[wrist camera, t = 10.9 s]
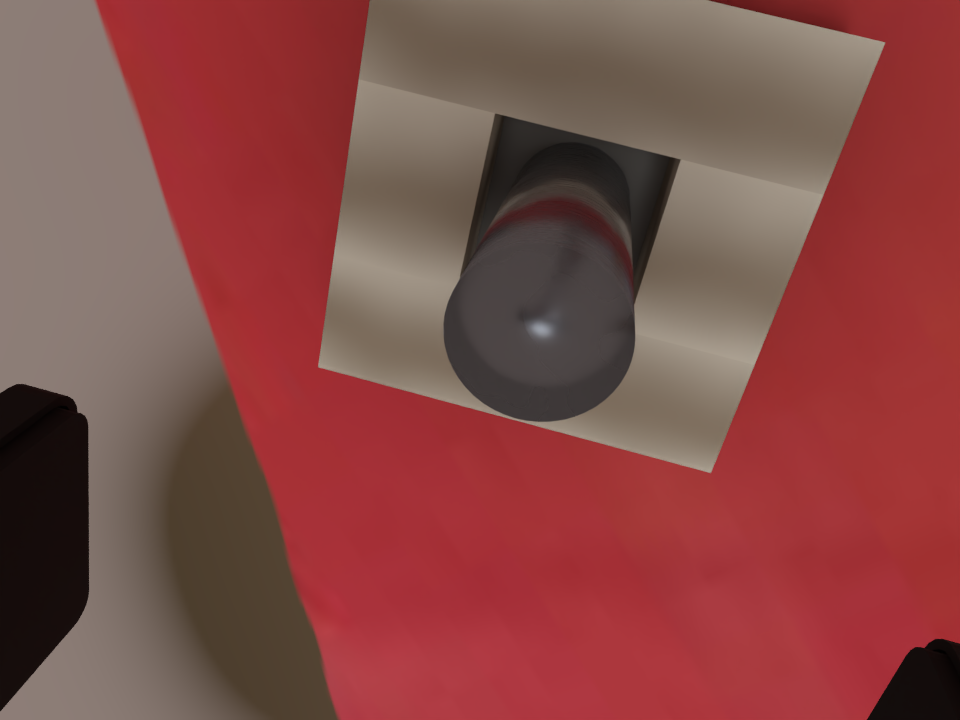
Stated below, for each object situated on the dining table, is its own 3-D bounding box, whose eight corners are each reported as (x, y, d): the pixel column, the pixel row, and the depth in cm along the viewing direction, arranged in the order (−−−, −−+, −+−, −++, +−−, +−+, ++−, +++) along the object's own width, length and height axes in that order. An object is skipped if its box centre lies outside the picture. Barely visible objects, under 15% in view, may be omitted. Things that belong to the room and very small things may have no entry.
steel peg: (527, 129, 27) (464, 221, 16) (644, 158, 27) (660, 272, 16) (500, 242, 29) (427, 395, 18) (611, 271, 28) (604, 442, 18)
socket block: (414, -68, 26) (380, -78, 22) (847, 35, 25) (885, 42, 22) (352, 325, 32) (318, 366, 28) (700, 417, 31) (710, 472, 28)
